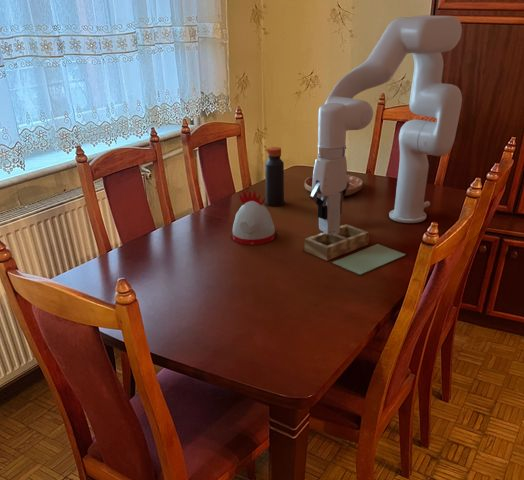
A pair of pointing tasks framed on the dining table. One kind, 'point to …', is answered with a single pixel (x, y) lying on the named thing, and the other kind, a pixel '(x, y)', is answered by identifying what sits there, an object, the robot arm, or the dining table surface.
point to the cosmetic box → (331, 215)
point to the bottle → (274, 177)
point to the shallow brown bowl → (352, 180)
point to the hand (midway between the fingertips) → (329, 215)
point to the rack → (336, 242)
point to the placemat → (368, 259)
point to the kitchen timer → (253, 222)
